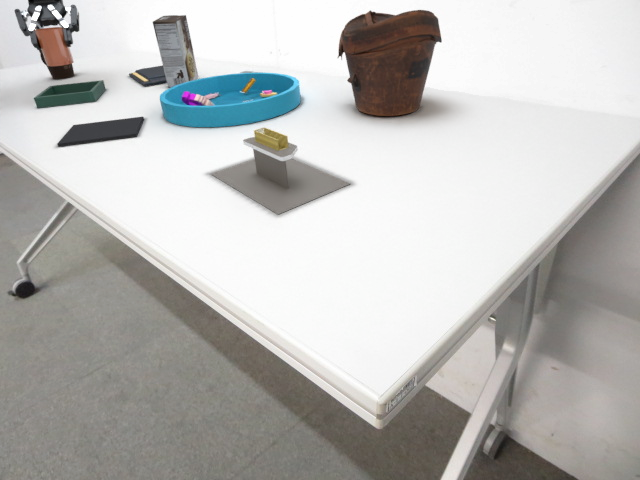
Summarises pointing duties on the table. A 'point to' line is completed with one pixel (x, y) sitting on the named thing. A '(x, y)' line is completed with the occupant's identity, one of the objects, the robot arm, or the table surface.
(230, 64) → the table surface
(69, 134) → the mat
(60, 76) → the coffee mug
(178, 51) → the coffee box
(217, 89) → the blue plastic shallow tray
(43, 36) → the cup
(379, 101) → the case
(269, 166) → the platform
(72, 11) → the robot arm
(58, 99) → the compartment
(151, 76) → the wallet
